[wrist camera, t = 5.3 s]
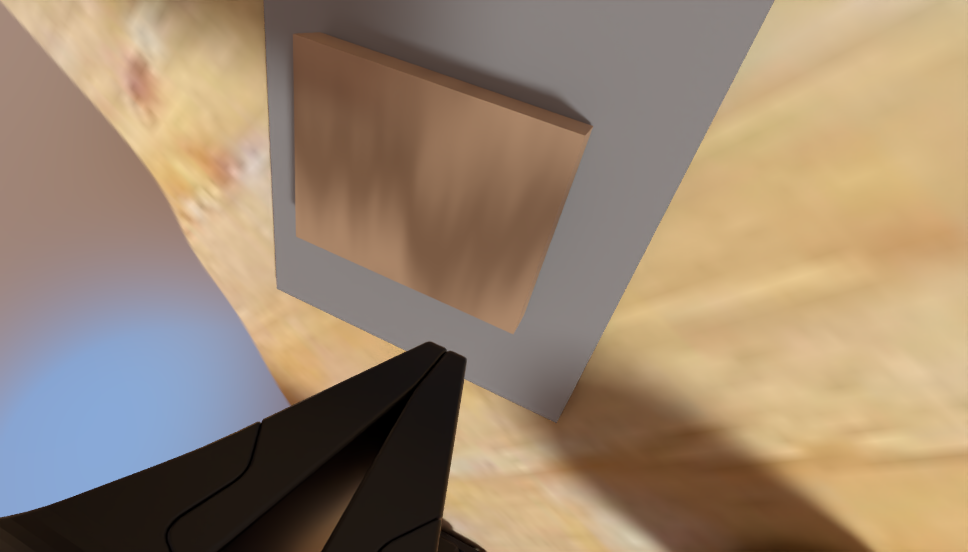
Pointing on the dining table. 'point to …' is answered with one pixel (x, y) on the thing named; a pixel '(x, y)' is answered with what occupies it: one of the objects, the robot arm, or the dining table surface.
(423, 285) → the tile
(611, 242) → the mat
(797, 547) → the dining table surface
